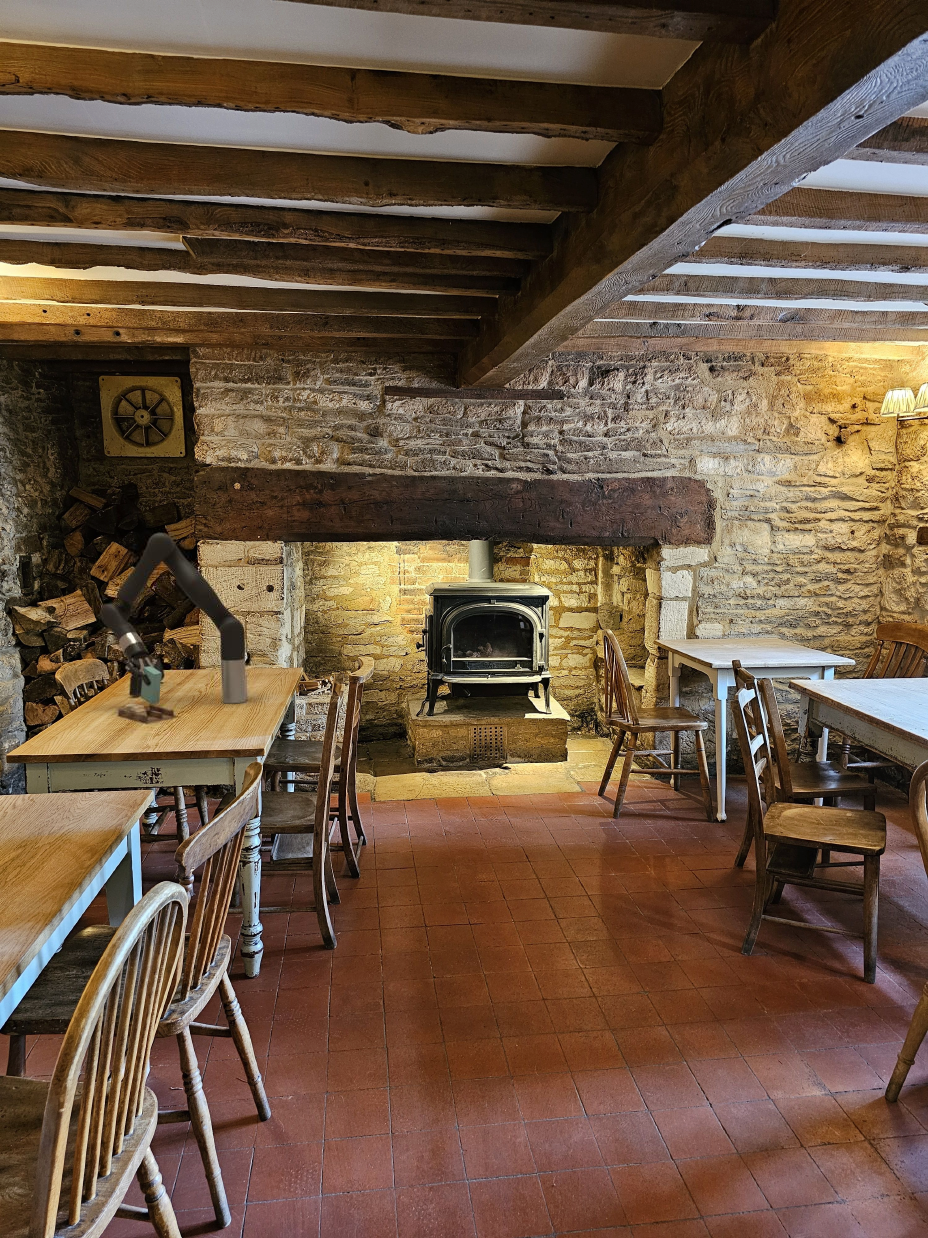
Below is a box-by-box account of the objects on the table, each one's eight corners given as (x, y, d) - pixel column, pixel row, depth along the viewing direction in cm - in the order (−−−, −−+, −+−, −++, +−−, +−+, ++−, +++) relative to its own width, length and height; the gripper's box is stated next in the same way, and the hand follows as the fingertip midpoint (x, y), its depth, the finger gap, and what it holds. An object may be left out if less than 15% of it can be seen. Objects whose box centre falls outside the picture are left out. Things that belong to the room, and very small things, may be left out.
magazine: (133, 677, 325) (159, 644, 352) (125, 677, 325) (152, 644, 352) (140, 714, 332) (165, 679, 359) (132, 714, 332) (158, 679, 359)
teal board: (140, 697, 299) (143, 667, 295) (148, 695, 301) (150, 666, 298) (151, 704, 295) (154, 674, 292) (158, 703, 297) (161, 672, 294)
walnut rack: (116, 719, 295) (116, 708, 295) (149, 712, 305) (148, 702, 305) (147, 728, 283) (147, 717, 283) (180, 720, 294) (180, 710, 293)
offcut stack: (124, 716, 294) (123, 705, 293) (134, 714, 297) (134, 703, 296) (136, 719, 289) (136, 708, 288) (147, 717, 292) (146, 706, 291)
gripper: (119, 643, 293) (140, 681, 288) (154, 638, 304) (174, 674, 299) (112, 656, 297) (132, 693, 292) (146, 651, 308) (167, 686, 303)
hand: (153, 683), depth 295 cm, fingers closed on teal board, 2 cm apart
